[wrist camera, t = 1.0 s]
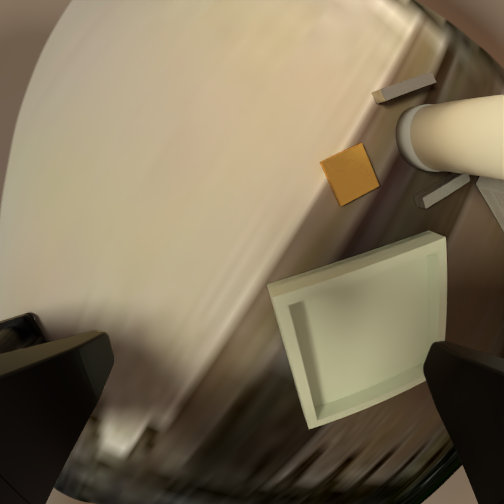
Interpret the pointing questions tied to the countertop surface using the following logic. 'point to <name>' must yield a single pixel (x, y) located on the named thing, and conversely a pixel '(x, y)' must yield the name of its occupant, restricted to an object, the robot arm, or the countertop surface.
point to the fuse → (455, 136)
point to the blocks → (360, 170)
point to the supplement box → (493, 196)
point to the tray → (363, 325)
